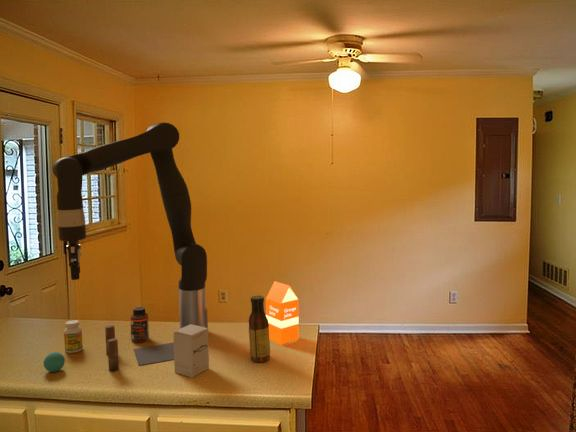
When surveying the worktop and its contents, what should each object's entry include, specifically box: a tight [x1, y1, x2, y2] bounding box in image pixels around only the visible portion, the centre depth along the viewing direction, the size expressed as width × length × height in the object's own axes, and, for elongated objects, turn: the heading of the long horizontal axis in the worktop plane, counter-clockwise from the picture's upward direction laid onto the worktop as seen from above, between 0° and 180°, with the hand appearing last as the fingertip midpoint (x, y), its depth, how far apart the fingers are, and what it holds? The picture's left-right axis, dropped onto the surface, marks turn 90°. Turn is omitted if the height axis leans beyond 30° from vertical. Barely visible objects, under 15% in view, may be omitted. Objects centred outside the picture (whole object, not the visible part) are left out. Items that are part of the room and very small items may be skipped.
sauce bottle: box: [248, 295, 271, 363], centre depth 142 cm, size 6×6×20 cm
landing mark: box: [133, 341, 174, 367], centre depth 148 cm, size 14×14×1 cm
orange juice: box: [265, 280, 300, 346], centre depth 159 cm, size 8×9×20 cm
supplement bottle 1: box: [63, 319, 84, 354], centre depth 151 cm, size 5×5×10 cm
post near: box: [107, 338, 120, 373], centre depth 136 cm, size 3×3×9 cm
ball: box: [43, 351, 66, 373], centre depth 136 cm, size 6×6×6 cm
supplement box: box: [172, 324, 210, 378], centre depth 135 cm, size 7×7×13 cm
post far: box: [104, 324, 116, 356], centre depth 148 cm, size 3×3×9 cm
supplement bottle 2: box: [130, 306, 150, 343], centre depth 160 cm, size 6×6×11 cm
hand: (76, 276), depth 141 cm, fingers open, 8 cm apart
